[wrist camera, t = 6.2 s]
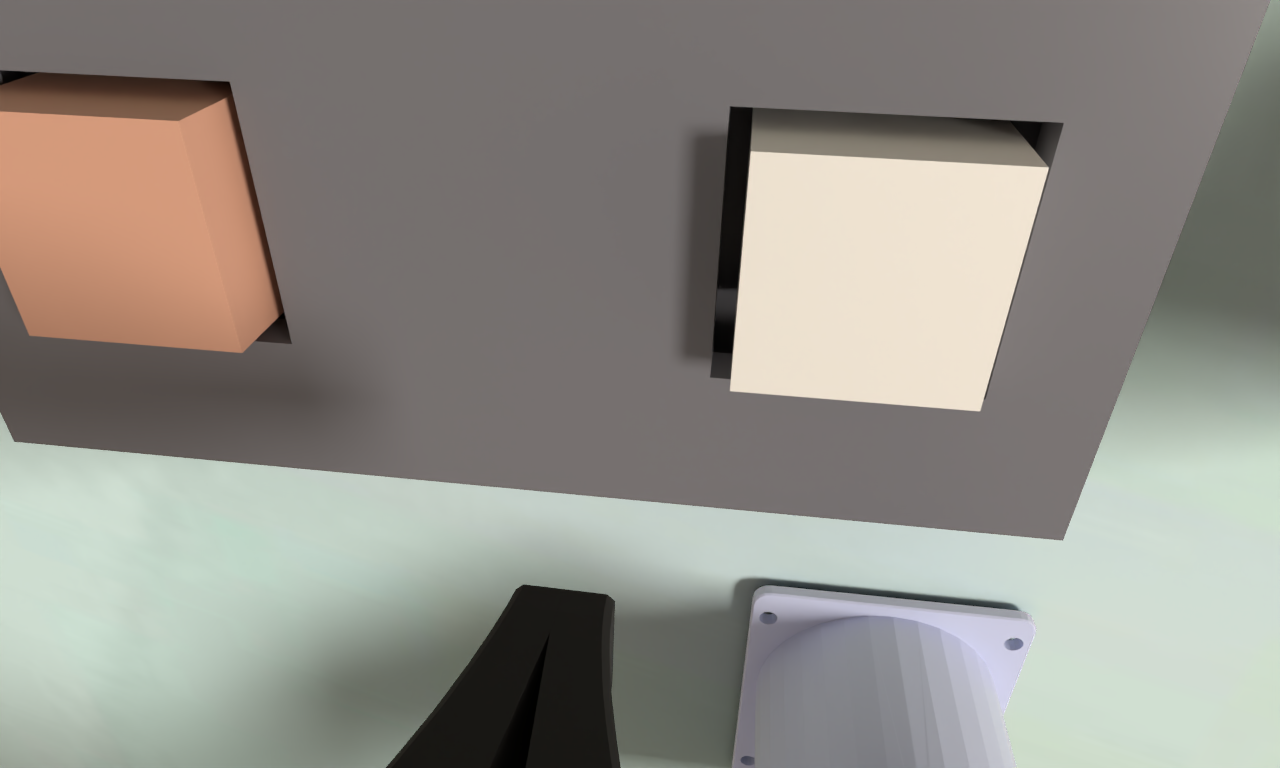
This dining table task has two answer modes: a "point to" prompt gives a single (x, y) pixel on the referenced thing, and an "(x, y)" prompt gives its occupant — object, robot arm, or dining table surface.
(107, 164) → the terracotta key
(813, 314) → the off-white key
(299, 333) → the panel
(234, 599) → the dining table surface
